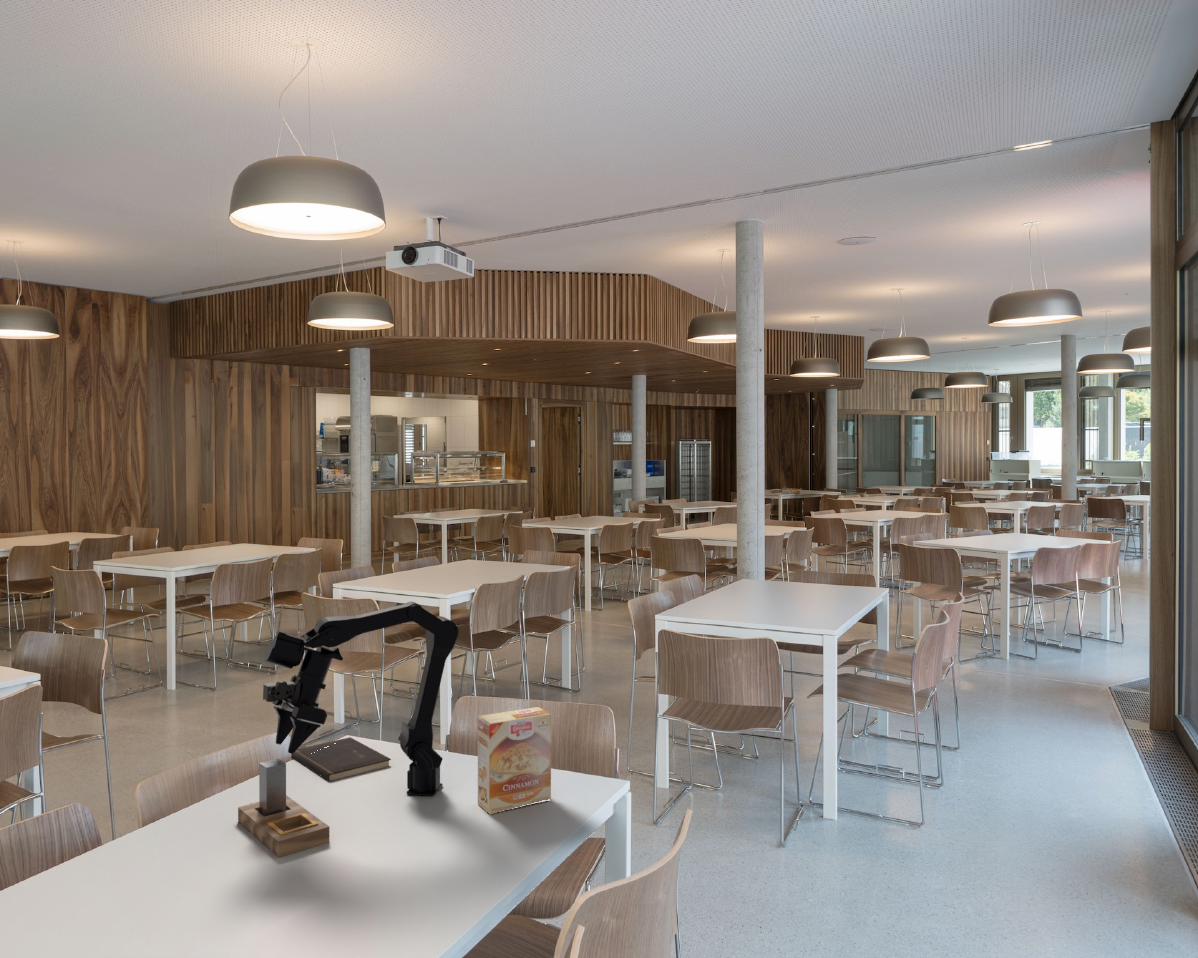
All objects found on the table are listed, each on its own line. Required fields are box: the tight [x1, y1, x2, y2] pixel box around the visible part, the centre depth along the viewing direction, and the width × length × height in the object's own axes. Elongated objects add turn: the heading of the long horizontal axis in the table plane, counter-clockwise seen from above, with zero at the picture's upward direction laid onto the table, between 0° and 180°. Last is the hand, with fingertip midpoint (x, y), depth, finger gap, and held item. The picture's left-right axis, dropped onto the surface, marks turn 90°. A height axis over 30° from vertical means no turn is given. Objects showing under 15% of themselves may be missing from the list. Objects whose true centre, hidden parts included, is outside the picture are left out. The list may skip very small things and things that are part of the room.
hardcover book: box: [290, 736, 392, 782], centre depth 211 cm, size 16×23×2 cm
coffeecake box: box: [477, 706, 552, 815], centre depth 184 cm, size 15×7×20 cm, turn 120°
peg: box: [258, 758, 287, 817], centre depth 173 cm, size 4×4×12 cm
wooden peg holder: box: [237, 794, 330, 858], centre depth 170 cm, size 22×10×3 cm, turn 42°
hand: (284, 748), depth 176 cm, fingers open, 9 cm apart
